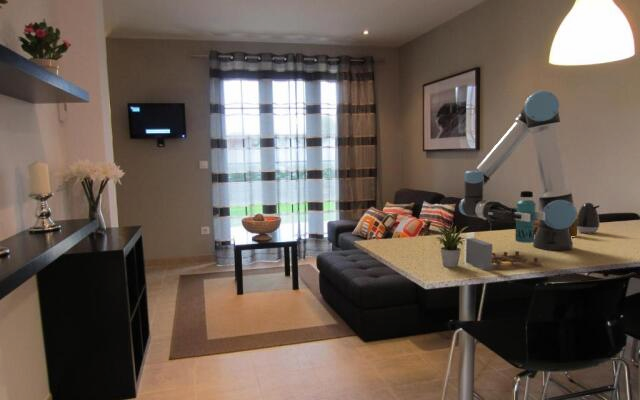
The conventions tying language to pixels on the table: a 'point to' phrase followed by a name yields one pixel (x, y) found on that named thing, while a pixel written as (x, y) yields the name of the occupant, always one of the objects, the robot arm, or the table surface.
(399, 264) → the table surface
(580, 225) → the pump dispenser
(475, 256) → the end block
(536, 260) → the wooden peg rack
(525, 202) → the beverage bottle
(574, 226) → the condiment
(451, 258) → the house plant
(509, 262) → the band marker
